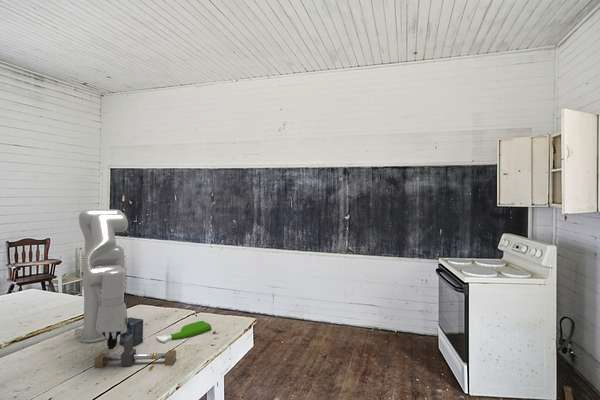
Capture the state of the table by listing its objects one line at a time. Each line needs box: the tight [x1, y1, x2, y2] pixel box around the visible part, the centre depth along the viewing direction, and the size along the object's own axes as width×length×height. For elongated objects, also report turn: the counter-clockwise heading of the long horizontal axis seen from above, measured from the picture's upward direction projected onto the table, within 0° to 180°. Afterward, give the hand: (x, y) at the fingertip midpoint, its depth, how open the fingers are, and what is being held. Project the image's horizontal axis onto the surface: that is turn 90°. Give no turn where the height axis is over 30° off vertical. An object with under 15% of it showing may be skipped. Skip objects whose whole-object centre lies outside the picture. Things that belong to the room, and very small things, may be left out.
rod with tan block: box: [93, 349, 177, 372], centre depth 128 cm, size 29×12×4 cm, turn 97°
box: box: [119, 317, 144, 348], centre depth 146 cm, size 8×6×11 cm
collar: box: [120, 334, 137, 367], centre depth 127 cm, size 4×6×10 cm, turn 7°
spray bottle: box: [155, 320, 212, 344], centre depth 156 cm, size 3×11×25 cm
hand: (112, 347), depth 127 cm, fingers closed
